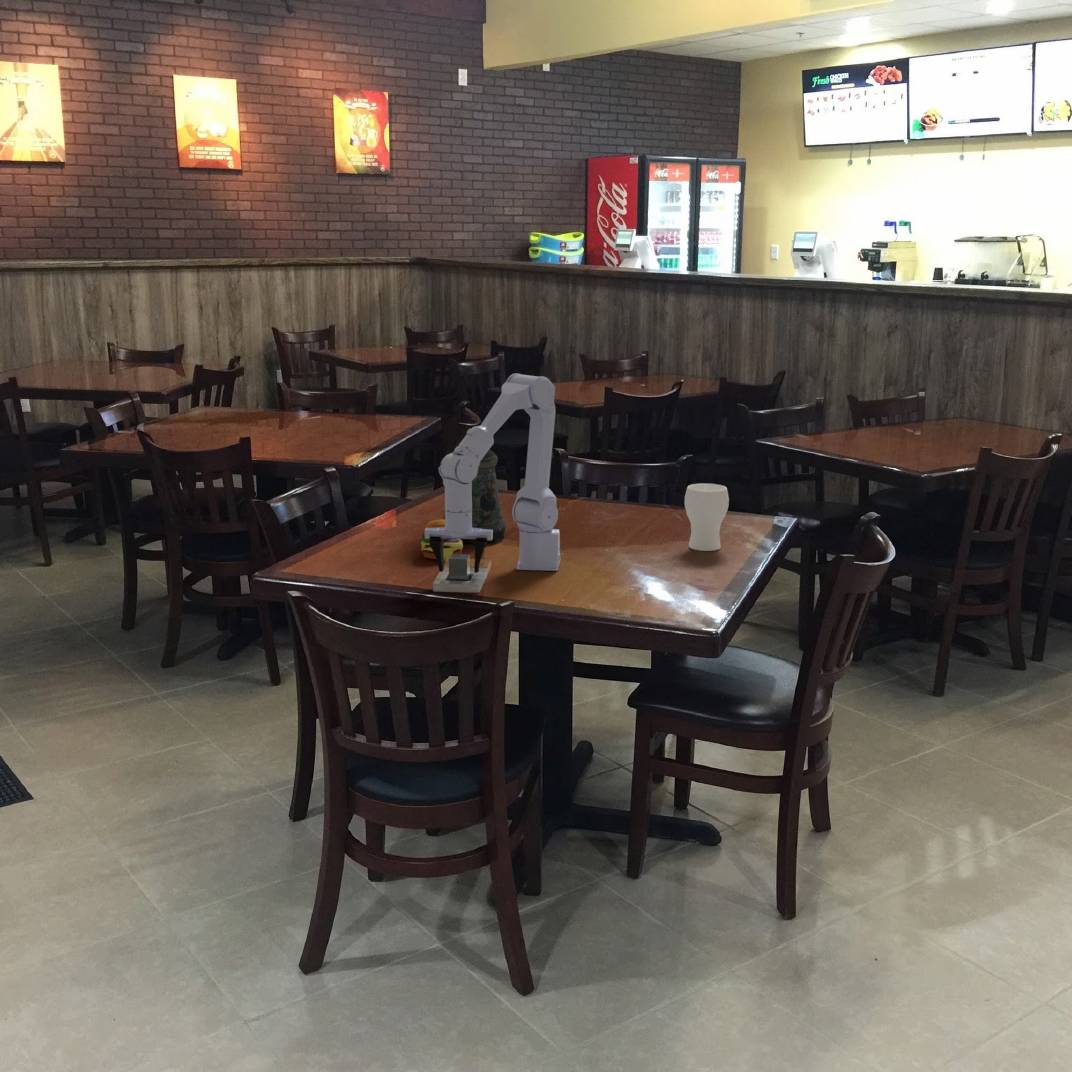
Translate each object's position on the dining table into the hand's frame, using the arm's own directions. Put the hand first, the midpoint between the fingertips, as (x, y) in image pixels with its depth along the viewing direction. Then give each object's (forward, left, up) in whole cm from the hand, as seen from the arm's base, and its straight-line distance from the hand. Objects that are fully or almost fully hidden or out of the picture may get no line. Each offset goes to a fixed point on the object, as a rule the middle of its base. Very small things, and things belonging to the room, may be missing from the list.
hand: (459, 571), depth 245 cm
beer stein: (+4, -43, -3) cm, 43 cm away
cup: (-55, -38, -3) cm, 67 cm away
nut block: (0, 0, -3) cm, 3 cm away
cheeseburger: (+8, -23, -4) cm, 25 cm away
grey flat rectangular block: (0, -5, -3) cm, 6 cm away
